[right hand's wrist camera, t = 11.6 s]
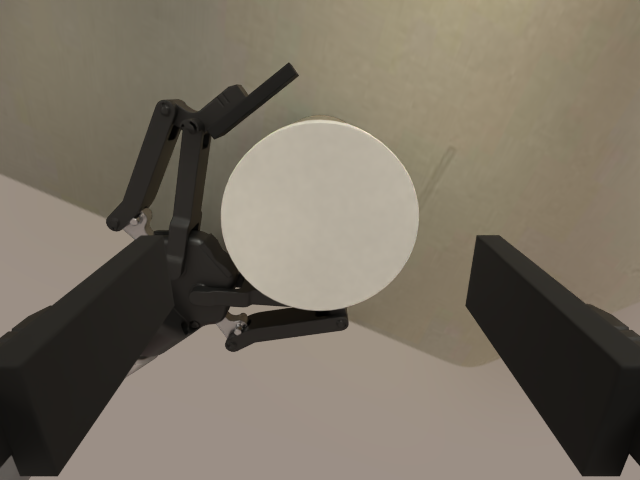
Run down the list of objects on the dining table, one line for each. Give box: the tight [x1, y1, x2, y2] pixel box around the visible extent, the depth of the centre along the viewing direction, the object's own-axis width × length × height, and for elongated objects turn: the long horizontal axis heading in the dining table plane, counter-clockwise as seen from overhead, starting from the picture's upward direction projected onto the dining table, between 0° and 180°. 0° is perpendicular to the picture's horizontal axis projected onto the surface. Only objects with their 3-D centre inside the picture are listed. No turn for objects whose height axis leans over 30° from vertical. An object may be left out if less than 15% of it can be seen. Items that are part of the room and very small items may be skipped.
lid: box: [221, 120, 419, 311], centre depth 18 cm, size 9×9×2 cm
